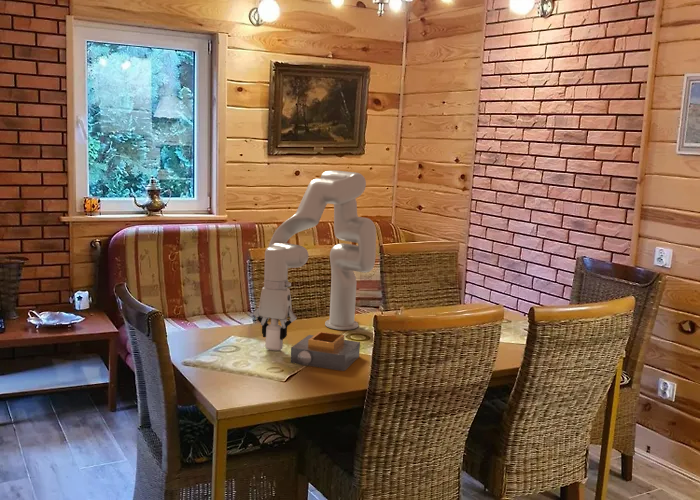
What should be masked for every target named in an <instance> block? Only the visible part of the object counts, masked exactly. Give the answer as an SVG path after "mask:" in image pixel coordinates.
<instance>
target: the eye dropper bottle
mask: <svg viewBox="0 0 700 500" xmlns="http://www.w3.org/2000/svg"><path fill="white" fill-rule="evenodd" d="M281 328H282V325H280V324H279V319H272V318H270V324H269V325H268V326H267V327H266V337H265V345H264V346H265V349H267V350H270V351H281V350H283V347H284V346H283V345H284V344H283V343H284V339H283V340H281V339H280V329H281Z"/></svg>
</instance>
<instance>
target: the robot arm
mask: <svg viewBox="0 0 700 500" xmlns="http://www.w3.org/2000/svg"><path fill="white" fill-rule="evenodd" d="M366 186H367V181H366V178H365V176H364V175H363V174H361V173H360V172H354V171H353V172H352V171H345V170H344V171H343V170H333V169H332V170H325V171H324V172H322V173H321V176H320V177H319V178H314V179H312V180H311V181H310V182H309V183H308V185H307V187H306V189H305V192H304V194H303V197H302V199H301V201H300V203H299V205H298V207H297V210H296V211H295V213H294V214H293V215H292V216H291V217H289V218H287V219H286V220H285V221H283V222H282V223H281V224H280V225H279V226H278V227H277V228H276V229H275V231H274V233H273V235H272V236H271V239H270V241H269V243H268V247H266V248H265V251H264V271H263V272H264V273H263V274H264V276H263V278H264V279H263V287H262V288H261V293H260V297H259V306H258V307H257V308H256V309H255V311H253V312H252V314H253V315H254V317H255V318H257V321H259V323H260V325H261V334H262V337H263V338H266V327H267V326H268V325H270V324H269V323H268V321H269V319H271V318H272V319H278V320H279V322H280V324H281V325H280V326H282V328H281V329H280V339H281V340H283V341H284V339H286V338H287V336H288V327H289V326H290V325H291V324H292V323H293V322H295V320H297V316H296V315H295V313H294V312H293V310H292V308H293V307H292V297H291V290H290V288H289V287H291V286H292V283H291V282H289V279H288V271H289V269H290V268H294V269H295V268H302V267H303V266H304V265H305V264H306V263H307V262H308V260H309V252H308V250H307V248H306V247H304V246H302V245H300V244H294V243H290V242H289V243H288V241H289V240H290V238H292V237H293V236H294V235H296V234H298V233H299V232H302V231H305V230H309V229H311V228H314V227H317V226H318V224H319V223H320V220H321V218H322V215H323V213H324V211H325V209H326V207H327V205H329V204H330V205H333V210H334V211H333V232H334V236H335V238H336V239H338V240H340V241H344V242H349V243H337V244H335V245H333V246H332V247H331V249H330V252H329V261H330V262H329V263H330V271H331V274H330V275H331V280H330V282H331V284H330V299H329V301H330V302H329V303H330V304H329V319H326V321H324V322H325V323H324V325H325V327H327V328H329V329H331V330H339V331H348V330H350V331H351V330H354V329H355V330H356V329H357V328H358V327H359V323H358V321H356V320H355V314H356V298H357V297H356V296H357V295H356V294H357V277H356V276H355V272H359V273H369V272H371V271H372V270H373V269H374V267H375V264H376V255H377V254H376V251H377V229H376V225H375V223H374V221H373V220H371V218H369V217H364V216H363V217H362V216H358V202H357V198H359V197H361V196H362V195H363V193H364V192H365V190H366ZM351 243H357V245H356V244H351ZM288 318H289V319H288Z"/></svg>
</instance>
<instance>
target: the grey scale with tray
mask: <svg viewBox="0 0 700 500" xmlns="http://www.w3.org/2000/svg"><path fill="white" fill-rule="evenodd" d="M360 348H361V342H360V341H354V340H348V339H345V334H339V333H333V332H326V331H318V332H317V333H315V334H308V335H307V336H305V337H304V338H303V339H301V340H299V341H298V342H297V343H295V344H294V345H292V346H291V347H290V364H295V363H296V365H302V366H310V367H315V368H322V369H326V370H327V369H329V370H335V371H340V372H341V371H342V372H345V371H346V370H347V369H348V368H349V367H350V366H352V364H353V363H354V362H355V361H357V360H358V359H359V358H360V351H361V349H360Z"/></svg>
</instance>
